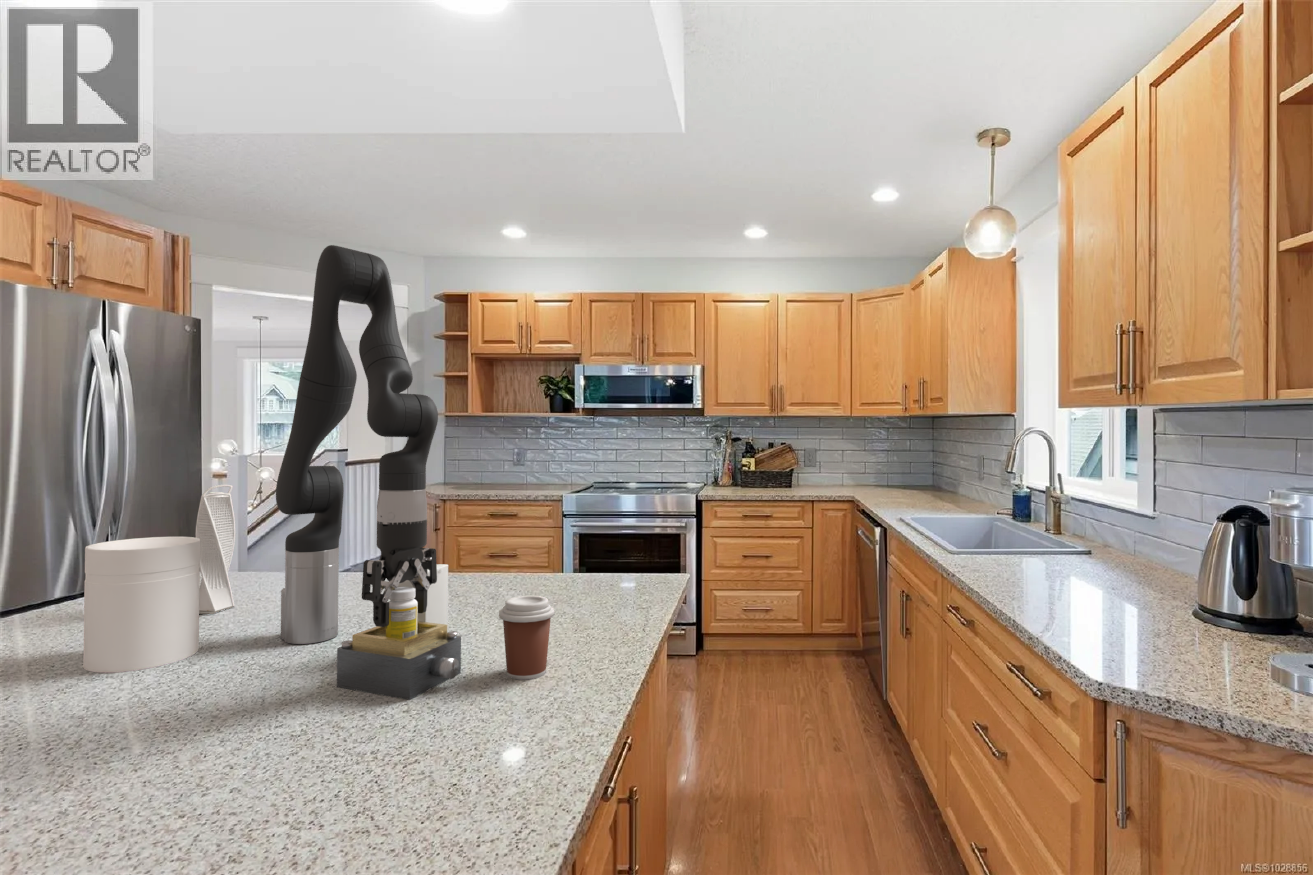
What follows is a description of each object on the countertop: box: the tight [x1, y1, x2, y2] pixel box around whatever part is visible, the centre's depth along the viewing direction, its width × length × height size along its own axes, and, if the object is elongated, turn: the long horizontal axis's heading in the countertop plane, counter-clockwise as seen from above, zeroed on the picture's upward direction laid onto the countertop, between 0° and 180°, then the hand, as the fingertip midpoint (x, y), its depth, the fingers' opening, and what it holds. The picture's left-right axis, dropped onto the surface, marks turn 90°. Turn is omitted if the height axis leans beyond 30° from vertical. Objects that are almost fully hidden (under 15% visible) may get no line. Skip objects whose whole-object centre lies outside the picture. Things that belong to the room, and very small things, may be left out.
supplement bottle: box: [386, 587, 418, 639], centre depth 105 cm, size 5×5×8 cm
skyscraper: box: [195, 484, 236, 615], centre depth 147 cm, size 8×8×28 cm
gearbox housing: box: [336, 621, 462, 701], centre depth 104 cm, size 17×12×8 cm
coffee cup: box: [498, 594, 556, 681], centre depth 108 cm, size 9×9×12 cm
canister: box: [82, 536, 201, 674], centre depth 115 cm, size 16×16×20 cm
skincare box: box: [398, 563, 449, 633], centre depth 118 cm, size 8×7×16 cm
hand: (401, 619), depth 105 cm, fingers open, 8 cm apart
